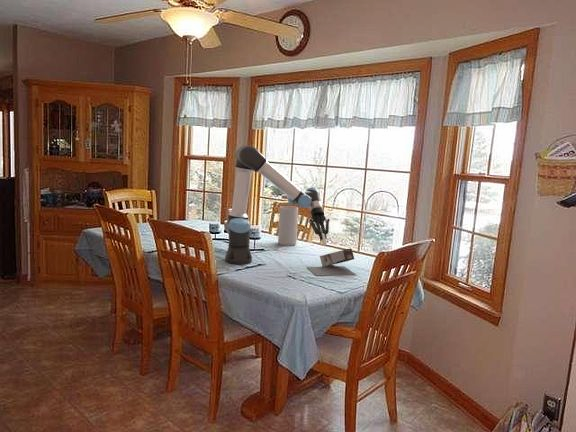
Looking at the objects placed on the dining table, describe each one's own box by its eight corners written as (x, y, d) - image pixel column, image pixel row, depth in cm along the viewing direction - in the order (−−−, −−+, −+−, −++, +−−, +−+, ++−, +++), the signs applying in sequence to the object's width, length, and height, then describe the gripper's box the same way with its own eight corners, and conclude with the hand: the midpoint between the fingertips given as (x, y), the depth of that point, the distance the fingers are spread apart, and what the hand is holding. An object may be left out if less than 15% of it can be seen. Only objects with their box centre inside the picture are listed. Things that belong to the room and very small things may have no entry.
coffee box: (322, 267, 246) (345, 261, 236) (319, 256, 247) (342, 250, 236) (331, 264, 253) (354, 259, 243) (328, 253, 254) (351, 247, 244)
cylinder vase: (297, 242, 306) (299, 206, 302) (294, 246, 294) (296, 209, 290) (279, 241, 308) (281, 205, 304) (276, 244, 296) (278, 207, 292)
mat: (316, 276, 228) (316, 275, 228) (306, 267, 243) (306, 266, 243) (355, 274, 234) (355, 274, 234) (343, 266, 249) (343, 265, 249)
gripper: (325, 214, 268) (333, 247, 255) (304, 213, 264) (311, 247, 251) (328, 206, 262) (337, 240, 249) (307, 206, 258) (315, 240, 245)
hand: (324, 244), depth 250 cm, fingers closed
